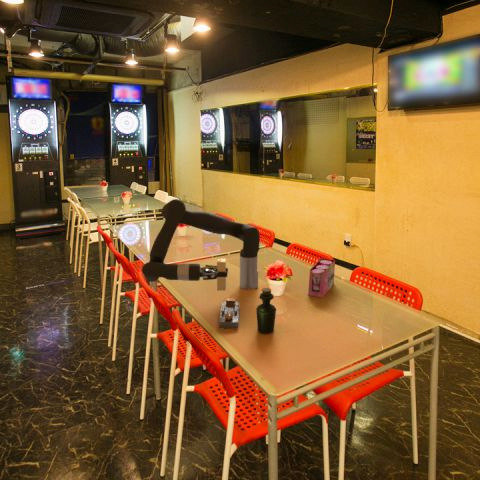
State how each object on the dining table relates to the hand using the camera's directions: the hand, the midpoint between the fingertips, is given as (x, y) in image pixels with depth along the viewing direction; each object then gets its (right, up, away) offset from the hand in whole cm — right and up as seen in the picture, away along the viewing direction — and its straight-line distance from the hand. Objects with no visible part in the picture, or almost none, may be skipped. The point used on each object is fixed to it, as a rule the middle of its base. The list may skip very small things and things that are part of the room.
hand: (227, 272), depth 183 cm
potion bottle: (+16, -23, -11) cm, 30 cm away
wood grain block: (-3, -7, +2) cm, 8 cm away
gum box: (+48, -12, +36) cm, 61 cm away
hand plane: (+1, -20, +2) cm, 20 cm away
